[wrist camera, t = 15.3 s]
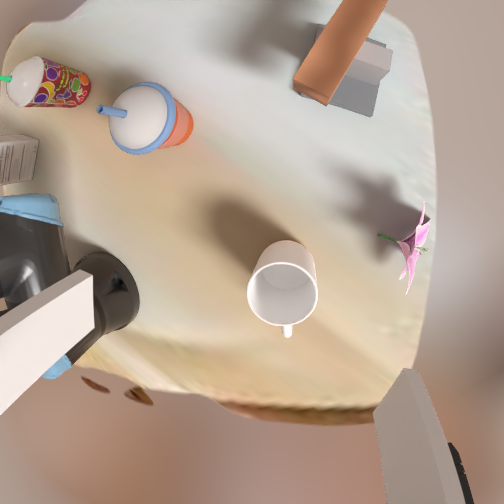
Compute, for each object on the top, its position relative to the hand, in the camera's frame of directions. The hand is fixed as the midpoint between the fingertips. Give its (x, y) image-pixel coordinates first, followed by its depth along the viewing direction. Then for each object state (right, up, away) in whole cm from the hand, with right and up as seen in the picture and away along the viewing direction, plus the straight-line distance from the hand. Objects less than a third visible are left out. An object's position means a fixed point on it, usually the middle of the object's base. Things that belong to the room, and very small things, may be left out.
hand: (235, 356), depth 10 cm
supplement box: (-48, +25, +35) cm, 64 cm away
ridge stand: (+13, +29, +22) cm, 39 cm away
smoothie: (-31, +33, +29) cm, 54 cm away
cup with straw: (-11, +23, +29) cm, 38 cm away
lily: (+23, +6, +28) cm, 37 cm away
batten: (+11, +27, +14) cm, 33 cm away
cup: (+6, 0, +33) cm, 33 cm away
